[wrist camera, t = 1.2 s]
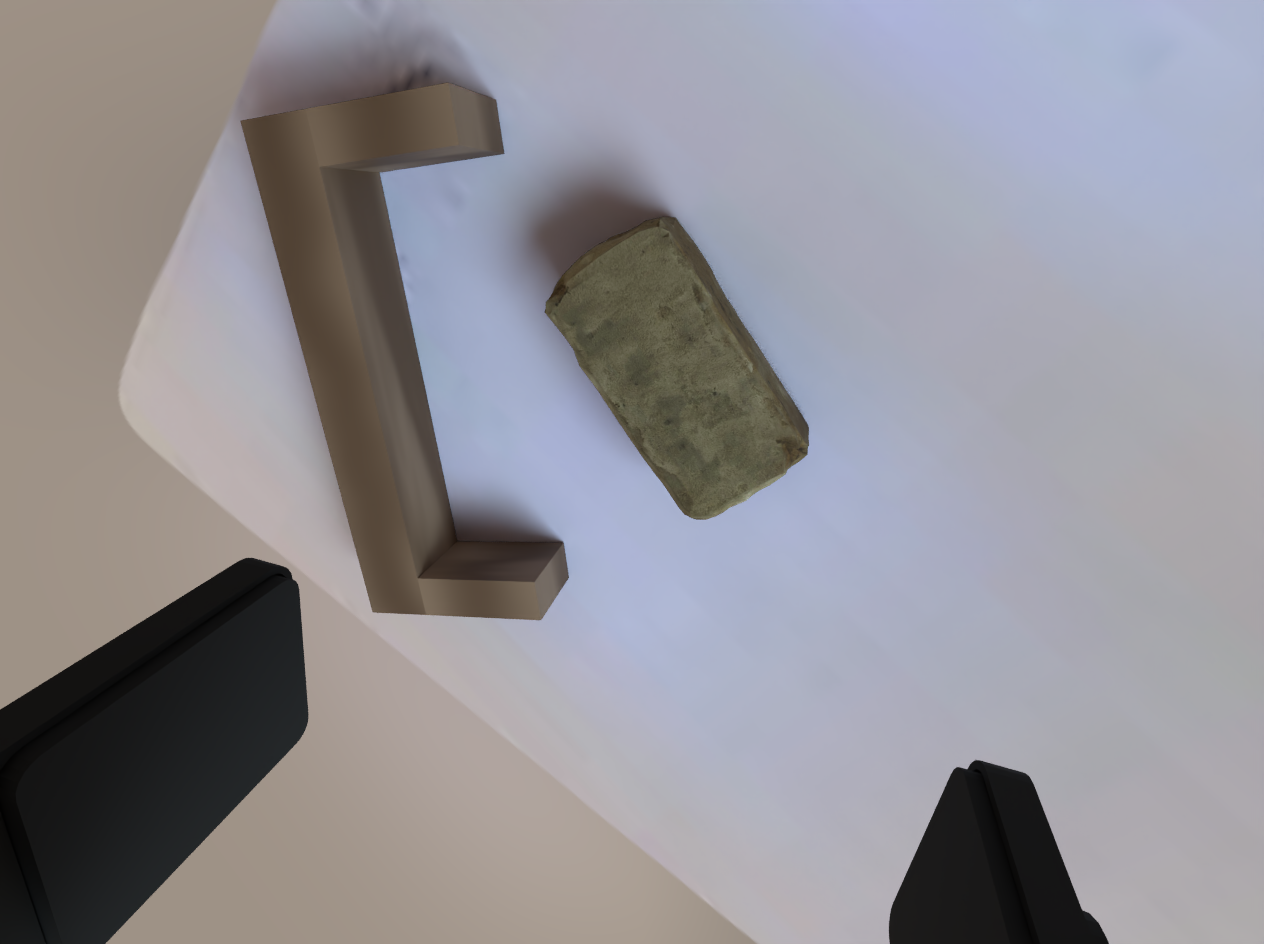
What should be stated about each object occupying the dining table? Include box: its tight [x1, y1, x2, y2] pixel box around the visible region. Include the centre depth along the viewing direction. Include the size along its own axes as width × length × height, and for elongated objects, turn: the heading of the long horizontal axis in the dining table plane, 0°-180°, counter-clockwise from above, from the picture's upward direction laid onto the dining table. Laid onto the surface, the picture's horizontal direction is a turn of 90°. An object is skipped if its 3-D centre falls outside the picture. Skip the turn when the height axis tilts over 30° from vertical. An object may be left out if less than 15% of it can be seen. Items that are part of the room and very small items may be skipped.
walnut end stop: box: [241, 83, 569, 620], centre depth 30 cm, size 9×22×4 cm, turn 6°
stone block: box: [545, 217, 809, 520], centre depth 27 cm, size 6×12×5 cm, turn 37°
